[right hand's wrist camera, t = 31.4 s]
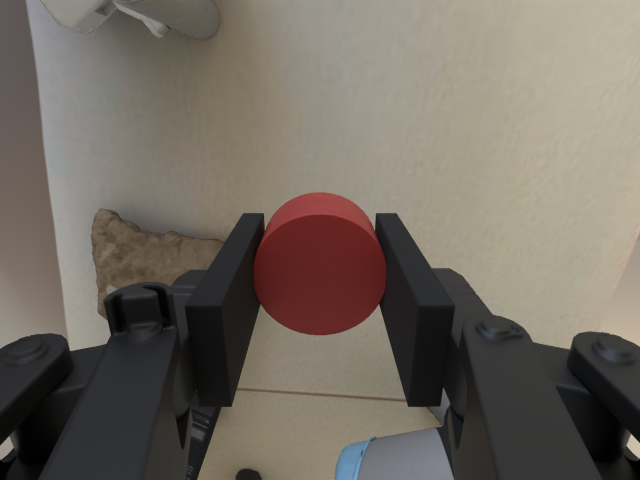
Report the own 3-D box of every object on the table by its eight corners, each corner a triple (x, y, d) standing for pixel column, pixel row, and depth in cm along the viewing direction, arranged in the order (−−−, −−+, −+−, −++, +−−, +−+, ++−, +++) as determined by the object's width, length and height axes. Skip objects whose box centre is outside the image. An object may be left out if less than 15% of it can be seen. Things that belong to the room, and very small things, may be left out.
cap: (325, 315, 15) (326, 357, 13) (240, 252, 14) (224, 285, 12) (399, 241, 14) (416, 271, 12) (313, 167, 13) (311, 184, 11)
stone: (80, 311, 51) (60, 329, 45) (102, 204, 49) (85, 210, 44) (235, 337, 57) (236, 357, 51) (261, 242, 55) (264, 252, 49)
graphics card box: (108, 388, 60) (-49, 605, 34) (121, 356, 58) (-36, 563, 32) (209, 426, 63) (133, 653, 37) (225, 397, 61) (156, 617, 35)
